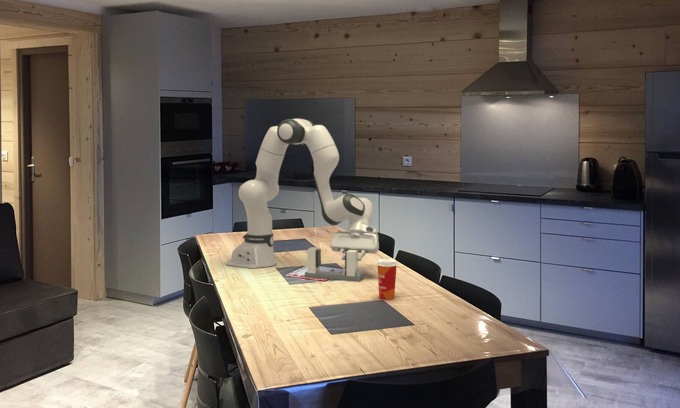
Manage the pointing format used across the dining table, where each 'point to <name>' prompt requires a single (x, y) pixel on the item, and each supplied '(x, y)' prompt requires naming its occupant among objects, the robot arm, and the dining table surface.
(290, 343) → the dining table surface
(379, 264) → the paper cup
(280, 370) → the dining table surface
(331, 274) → the rail
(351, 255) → the block
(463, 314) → the dining table surface
